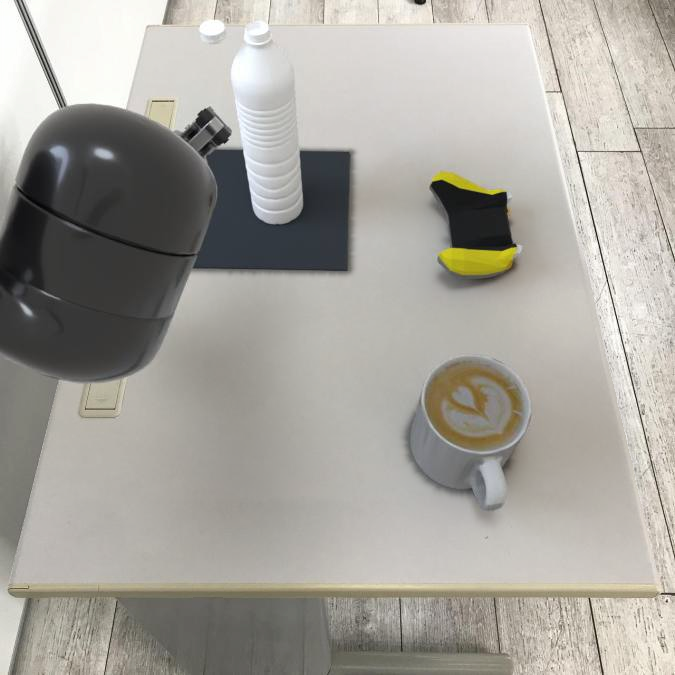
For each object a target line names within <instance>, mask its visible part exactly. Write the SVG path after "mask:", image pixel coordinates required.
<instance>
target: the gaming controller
mask: <svg viewBox="0 0 675 675" xmlns="http://www.w3.org/2000/svg"><path fill="white" fill-rule="evenodd" d="M429 190H430V192H431V194H432V196H434V198H435V200H436V201H437V203H438V204H439V206H440V207H441V208H442V211H443V212H444V214H445V216H446V219H447V224H448V233H449V240H450V247H449V248H447V249H444V250H442V251H439V253H438V254H437V258H436V260H437V262H438V264H439V265H440V266H441V267H442V268H443V269H444V270H445V271H446V272H447V273H448V274H449V275H452V276H454V277H456V278H458V279H461V280H476V279H477V280H480V279H482V280H483V279H490V278H493V277H496V276H499V275H502V274H503V275H504V273H506V272H507V271H508V270H509V269H511V268H512V266H513V263H514V260H515V258H517V256H518V255H520V254H521V253H522V250H523V245H521V244H517V243H514V242H513V236H512V230H511V226H510V220H509V216H510V212H511V211H510V209H509V208H508V206H509V204H510V202H511V200H512V199H513V194H512V192H510V191H507V190H505V189H502V188H501V189H499V188H497V189H487V188H484V187H482V186H480V185H478V184H477V183H474V182H473V181H470V180H469V179H466V178H465V177H463V176H461V175H459V174H456V173H455V172H453V171H452V172H451V171H443V170H440V171H439V172H438V173H436V174H434V175H433V177H432V180H431V182H430V185H429Z"/></svg>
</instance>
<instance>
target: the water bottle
mask: <svg viewBox="0 0 675 675" xmlns="http://www.w3.org/2000/svg"><path fill="white" fill-rule="evenodd" d="M198 30H199V36H200V39H201V41H202V42H203V43H205V44H208V45H217V44H220V43H222V42H224V41H225V40H226V39H227V29H226V25H225V23H224V22H222V20H219V19H208V20H205V21H203V22H202V23H201V24H200V25H199V27H198ZM243 39H244V43H243V44H242V46H241V48H240V49H239V51H238V52H237V53H236V55H235V57H234V58H233V61H232V64H231V69H230V80H231V81H230V82H231V86H232V90H233V95H234V103H235V107H236V114H237V119H238V126H239V132H240V140H241V145H242V150H243V152H244V158H245V163H246V169H247V176H248V181H249V188H250V193H251V200H252V206H253V210H254V213H255V214H256V216H257V217H258V218H259V219H260V220H263V221H264V222H266V223H269V224H285V223H288V222H290V221H291V220H294V219H295V218H297V217H298V216H299V214H300V213H301V210H302V208H303V194H302V181H301V169H300V151H301V150H300V144H299V142H300V139H299V138H300V135H299V127H298V115H297V98H296V85H295V84H296V78H295V70H294V66H293V63H292V61H291V59H290V57H289V56H288V54H287V53H286V52H285V51H284V50H283V49H282V48H281V47H280V46H279V45H278V44H277V42H275V40H274V39H273V33H272V31H271V30H270V26H269V24H268V23H266V22H265V21H262V20H254V21H250V22H249V23H247V24H246V25H245V28H244V34H243Z"/></svg>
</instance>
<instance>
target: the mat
mask: <svg viewBox="0 0 675 675" xmlns="http://www.w3.org/2000/svg"><path fill="white" fill-rule="evenodd" d="M213 150H214V151H213V152H212V153H211V154H210V155H209V154H208V155H207V156H206V160H207V162H208V164H207V165H208V166H209V168H210V169H211V171H212V173H213V175H214V177H215V180H216V185H217V200H216V205H215V209H214V213H213V216H212V219H211V222H210V225H209V227H208V230H207V233H206V235H205V238H204V240H203V243H202V245H201V248H200V250H199V251H198V252H197V255H198V256H197V258H196V260H195V263H194V265H193V268H192V269H231V270H232V269H233V270H234V269H236V270H238V269H240V270H285V271H286V270H287V271H288V270H290V271H335V272H336V271H337V272H338V271H339V272H342V271H344V272H345V271H348V242H349V241H348V240H349V238H348V237H349V194H350V193H349V191H350V186H349V185H350V151H341V150H340V151H339V150H338V151H336V150H335V151H333V150H331V151H330V150H323V151H322V150H300V169H301V181H302V194H303V208H302V210H301V213H300V214H299V216H298V217H297V218H295V219H294V220H291V221H290V222H288V223H285V224H269V223H266V222H264V221H263V220H260V219H259V218H258V217H257V216H256V214H255V213H254V210H253V206H252V200H251V193H250V188H249V181H248V176H247V169H246V163H245V158H244V152H243V149H217V148H216V149H215V148H213Z"/></svg>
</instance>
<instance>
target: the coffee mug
mask: <svg viewBox="0 0 675 675" xmlns="http://www.w3.org/2000/svg"><path fill="white" fill-rule="evenodd" d="M531 419H532V400H531V396H530V393H529V391H528V388H527V386H526V385H525V383H524V381H523V380H522V378H521V377H520V376H519V375H518V374H517V373H516V372H515V370H513V369H512V368H511V367H510V366H508V365H507V364H505V363H504V362H502V361H500V360H498V359H496V358H493V357H490V356H487V355H482V354H478V353H465V354H459V355H454V356H451V357H448V358H446V359H445V360H442V361H441V362H439V363H438V364H437V365H436V366H435V367H433V368H432V370H431V371H430V372H429V373H428V375H427V376H426V378H425V380H424V382H423V385H422V388H421V391H420V395H419V399H418V403H417V406H416V411H415V414H414V418H413V421H412V424H411V429H410V436H409V438H410V439H409V443H410V449H411V453H412V456H413V458H414V461H415V462H416V464H417V465H418V467H419V469H420V470H421V471H422V472H423V473H424V474H425V475H426V476H427V477H428V478H430V479H431V480H432V481H434V482H436V483H438V484H439V485H441V486H444V487H447V488H450V489H456V490H470V489H472V492H473V494H474V498H475V500H476V502H477V504H478V506H479V507H480V509H482V510H483V511H487V512H489V511H490V512H491V511H492V512H493V511H496V510H499V509H501V508H503V506H504V505H505V503H506V500H507V499H508V498H507V497H508V496H507V495H508V488H507V487H508V486H507V482H506V476H505V473H504V471H503V467H504V465H505V464H506V462H507V461H508V460H509V458H510V457H511V455H512V453H513V452H514V450H515V449H516V447H518V445H519V444H520V442H521V440H522V438H523V437H524V436H525V434H526V433H527V430H528V428H529V426H530V423H531Z"/></svg>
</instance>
